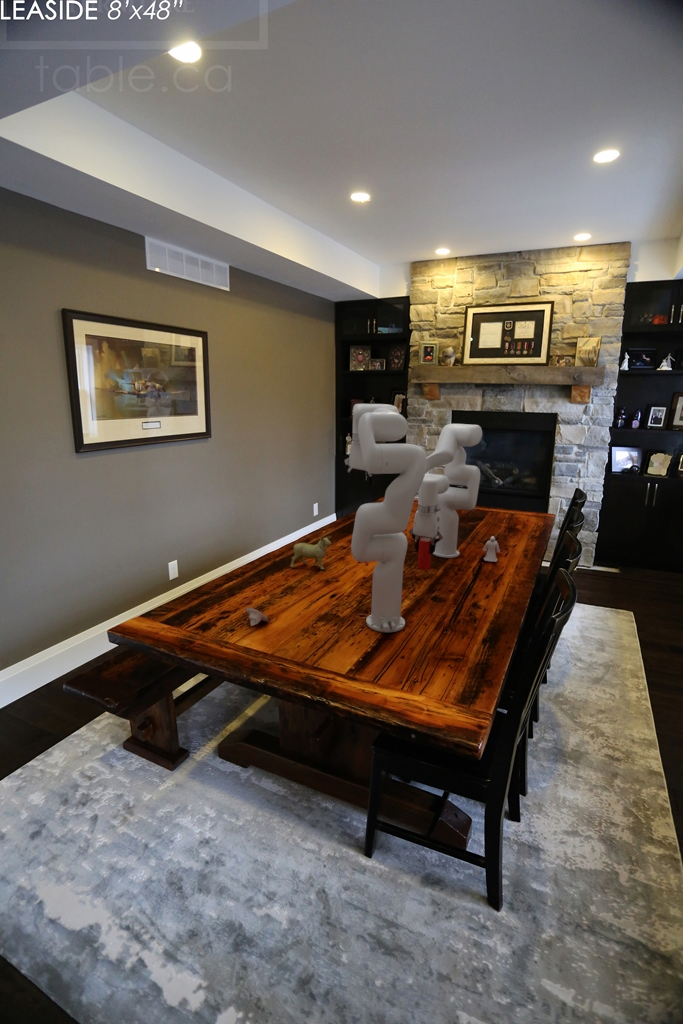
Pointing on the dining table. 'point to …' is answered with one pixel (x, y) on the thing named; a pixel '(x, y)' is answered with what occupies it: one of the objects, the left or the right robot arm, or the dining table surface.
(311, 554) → the toy
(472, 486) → the right robot arm
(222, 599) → the dining table surface
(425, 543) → the tin
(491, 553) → the figurine
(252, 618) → the seashell
